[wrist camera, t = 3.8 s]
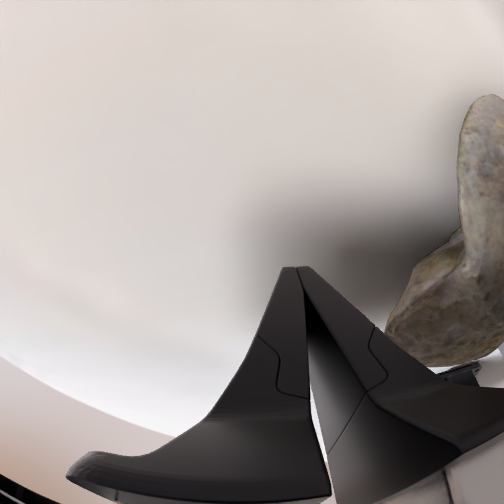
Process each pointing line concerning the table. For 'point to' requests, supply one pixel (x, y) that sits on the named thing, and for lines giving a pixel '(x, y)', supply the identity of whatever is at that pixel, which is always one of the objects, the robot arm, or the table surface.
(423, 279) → the fossilized seashell
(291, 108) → the table surface
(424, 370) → the robot arm
